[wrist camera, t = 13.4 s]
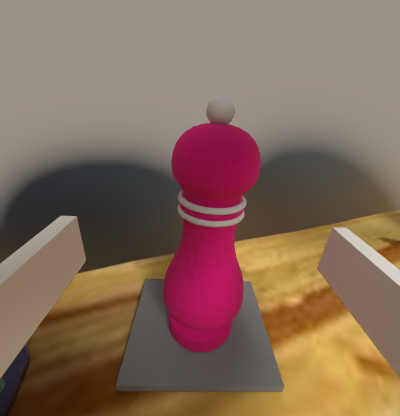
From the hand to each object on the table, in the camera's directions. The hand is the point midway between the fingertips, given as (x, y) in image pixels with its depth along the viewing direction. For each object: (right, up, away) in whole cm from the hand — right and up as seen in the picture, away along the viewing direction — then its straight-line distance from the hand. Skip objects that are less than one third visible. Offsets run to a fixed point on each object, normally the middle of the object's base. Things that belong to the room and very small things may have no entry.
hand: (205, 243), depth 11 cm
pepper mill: (0, -10, +10) cm, 14 cm away
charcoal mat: (0, -10, +10) cm, 14 cm away
